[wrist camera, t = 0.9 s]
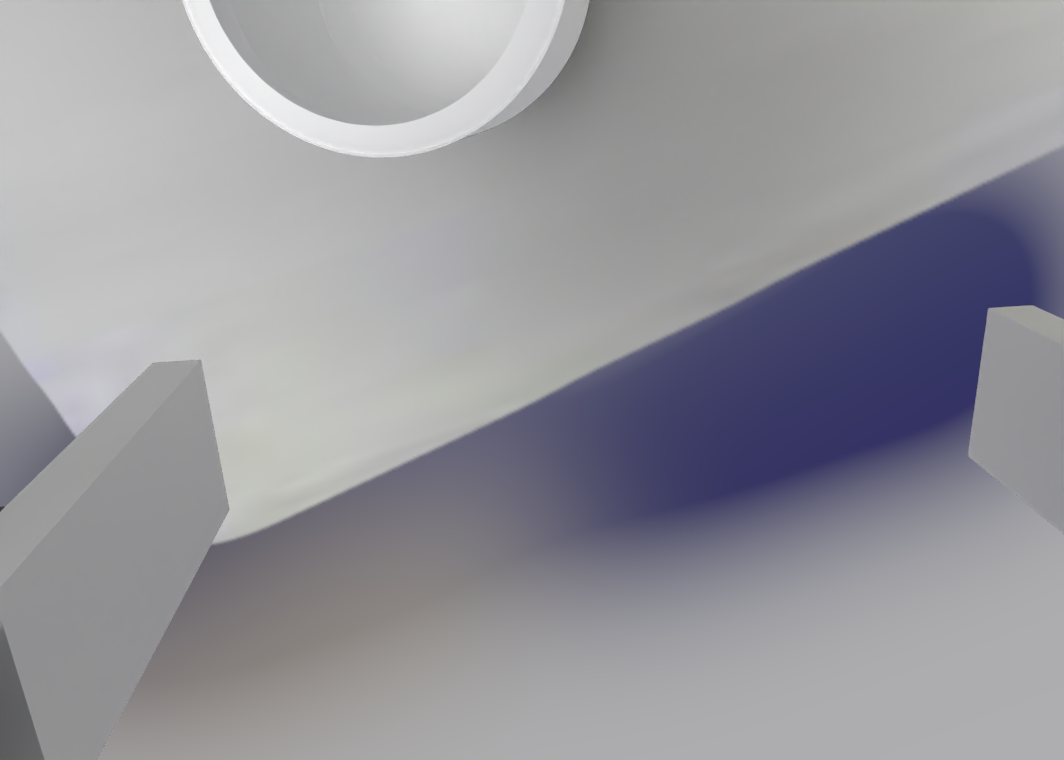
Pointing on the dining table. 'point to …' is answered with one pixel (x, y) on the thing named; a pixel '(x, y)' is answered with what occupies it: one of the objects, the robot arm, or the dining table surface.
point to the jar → (388, 65)
